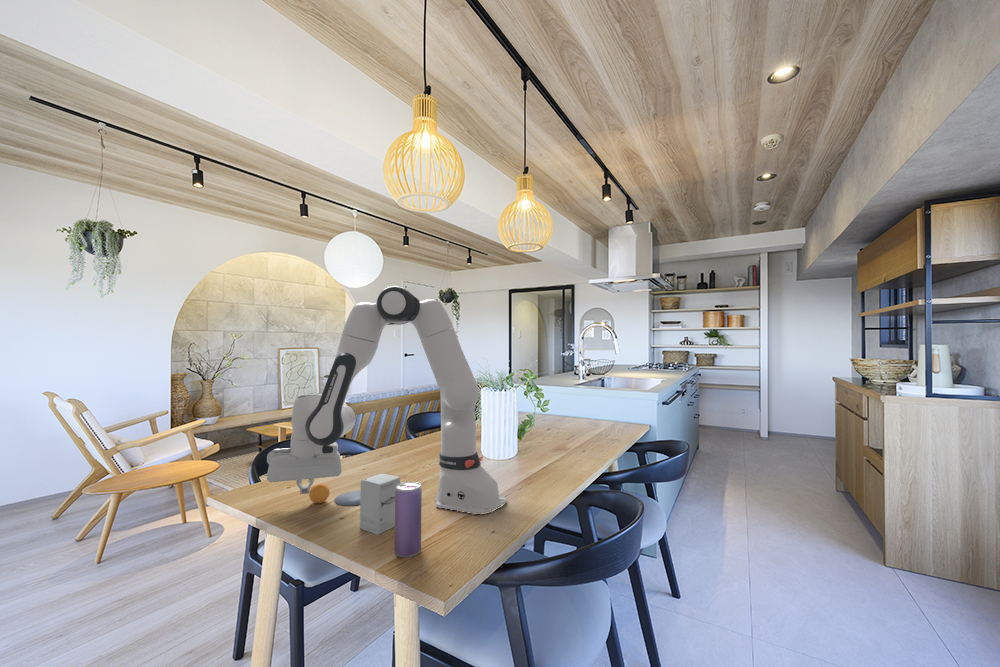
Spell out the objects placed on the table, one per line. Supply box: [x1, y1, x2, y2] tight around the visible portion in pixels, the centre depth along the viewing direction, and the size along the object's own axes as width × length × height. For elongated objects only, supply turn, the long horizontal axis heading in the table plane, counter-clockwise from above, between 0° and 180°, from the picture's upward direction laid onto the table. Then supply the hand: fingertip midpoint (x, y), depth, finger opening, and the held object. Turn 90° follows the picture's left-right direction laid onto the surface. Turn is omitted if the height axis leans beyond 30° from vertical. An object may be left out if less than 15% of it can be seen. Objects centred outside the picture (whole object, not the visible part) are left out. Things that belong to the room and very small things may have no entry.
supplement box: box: [359, 473, 401, 536], centre depth 106 cm, size 7×7×13 cm
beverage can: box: [394, 481, 423, 558], centre depth 93 cm, size 6×6×15 cm
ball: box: [308, 483, 330, 504], centre depth 122 cm, size 6×6×6 cm
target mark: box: [333, 489, 361, 507], centre depth 126 cm, size 13×13×1 cm
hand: (304, 493), depth 121 cm, fingers closed
